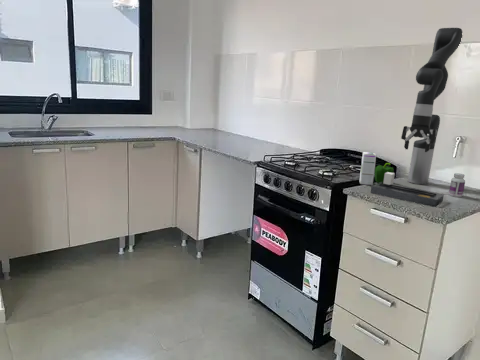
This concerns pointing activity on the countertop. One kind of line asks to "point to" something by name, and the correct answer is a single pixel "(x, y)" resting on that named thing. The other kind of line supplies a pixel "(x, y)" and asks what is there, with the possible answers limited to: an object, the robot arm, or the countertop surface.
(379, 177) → the bell pepper
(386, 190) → the slider panel
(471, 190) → the countertop surface
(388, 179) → the fader knob
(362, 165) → the syrup box
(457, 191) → the pill bottle
